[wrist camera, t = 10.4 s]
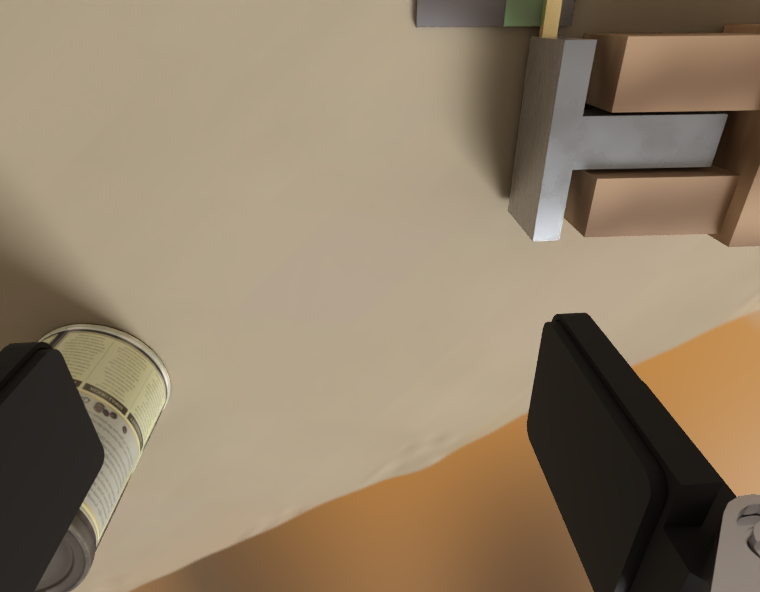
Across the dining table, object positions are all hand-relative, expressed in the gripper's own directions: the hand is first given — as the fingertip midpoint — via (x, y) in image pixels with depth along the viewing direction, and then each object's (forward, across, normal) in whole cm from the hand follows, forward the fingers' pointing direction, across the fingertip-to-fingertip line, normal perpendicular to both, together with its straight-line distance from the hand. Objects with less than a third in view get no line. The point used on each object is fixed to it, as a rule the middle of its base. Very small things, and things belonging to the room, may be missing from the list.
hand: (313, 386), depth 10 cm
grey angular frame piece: (+22, -16, -1) cm, 27 cm away
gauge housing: (+23, -15, -1) cm, 27 cm away
